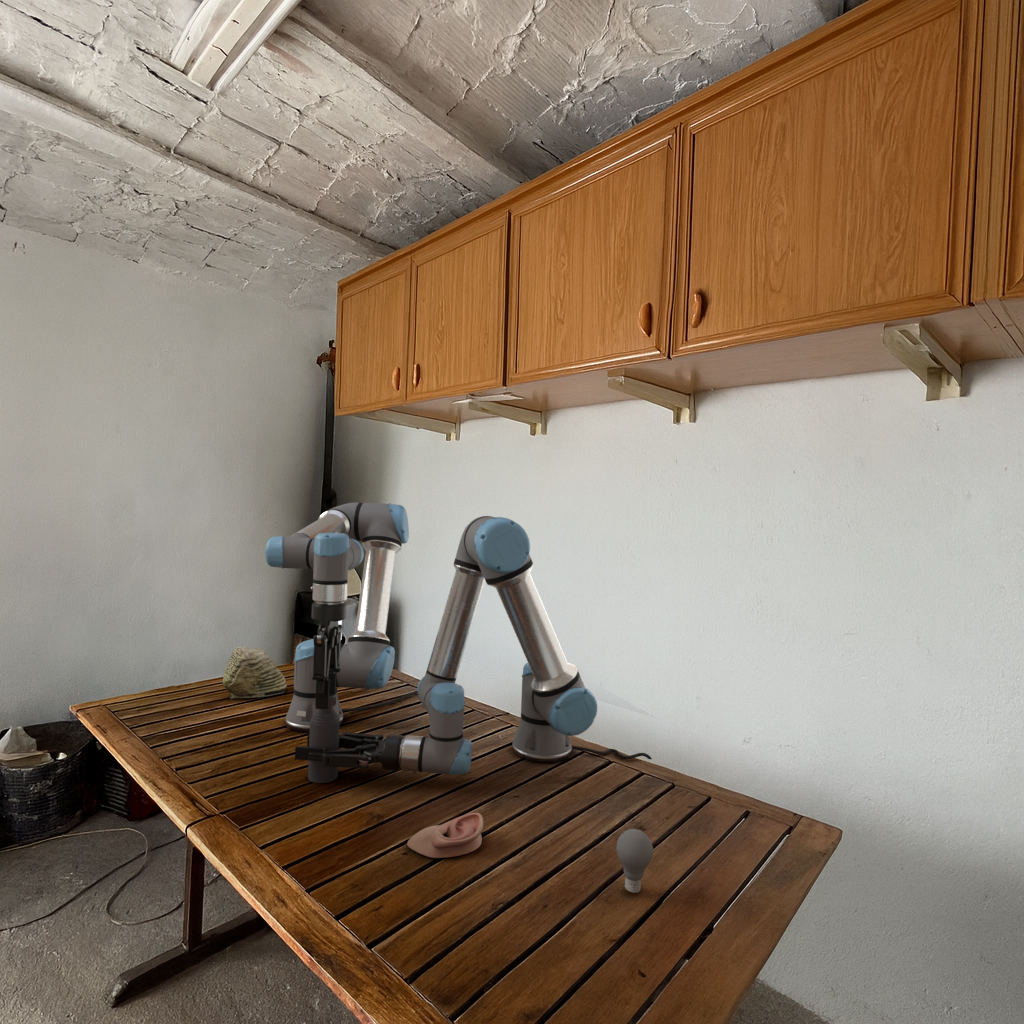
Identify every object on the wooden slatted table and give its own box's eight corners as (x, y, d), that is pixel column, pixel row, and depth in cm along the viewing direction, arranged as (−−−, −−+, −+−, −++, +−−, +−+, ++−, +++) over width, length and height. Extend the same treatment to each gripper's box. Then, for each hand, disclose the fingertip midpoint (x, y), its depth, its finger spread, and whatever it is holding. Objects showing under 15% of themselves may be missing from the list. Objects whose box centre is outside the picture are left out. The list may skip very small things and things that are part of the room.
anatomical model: (401, 831, 114) (423, 801, 125) (400, 853, 114) (422, 821, 125) (472, 842, 111) (488, 811, 122) (471, 864, 111) (487, 831, 122)
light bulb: (610, 879, 108) (613, 822, 108) (644, 879, 109) (647, 822, 109) (619, 902, 102) (622, 840, 102) (655, 901, 103) (658, 840, 103)
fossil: (218, 695, 195) (220, 647, 195) (278, 685, 208) (279, 640, 207) (228, 703, 189) (230, 653, 188) (289, 692, 201) (290, 645, 201)
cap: (310, 705, 142) (311, 694, 142) (324, 700, 146) (325, 689, 146) (326, 709, 140) (327, 698, 140) (340, 703, 144) (340, 692, 144)
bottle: (329, 784, 139) (332, 702, 139) (302, 781, 141) (305, 699, 140) (342, 772, 146) (345, 693, 145) (316, 769, 147) (319, 691, 147)
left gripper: (325, 595, 151) (321, 692, 152) (299, 607, 134) (295, 717, 134) (356, 596, 151) (352, 693, 152) (334, 609, 134) (330, 718, 134)
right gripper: (391, 789, 132) (283, 781, 134) (411, 752, 152) (317, 746, 153) (392, 753, 132) (284, 746, 134) (412, 721, 152) (318, 715, 153)
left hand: (325, 704), depth 143 cm, fingers closed on cap, 4 cm apart
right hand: (302, 746), depth 143 cm, fingers closed on bottle, 6 cm apart
